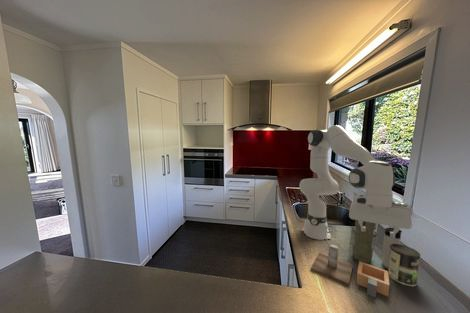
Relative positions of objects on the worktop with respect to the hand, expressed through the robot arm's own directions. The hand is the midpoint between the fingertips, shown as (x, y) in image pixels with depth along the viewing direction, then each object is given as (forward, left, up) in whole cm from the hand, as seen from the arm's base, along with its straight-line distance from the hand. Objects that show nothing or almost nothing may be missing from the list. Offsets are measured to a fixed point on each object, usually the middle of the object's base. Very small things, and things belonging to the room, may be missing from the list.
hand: (377, 234), depth 76 cm
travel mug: (-28, +7, -26) cm, 39 cm away
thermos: (-27, -5, -26) cm, 38 cm away
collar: (-6, 0, -26) cm, 26 cm away
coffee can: (-21, +11, -26) cm, 35 cm away
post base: (-6, -16, -26) cm, 31 cm away
